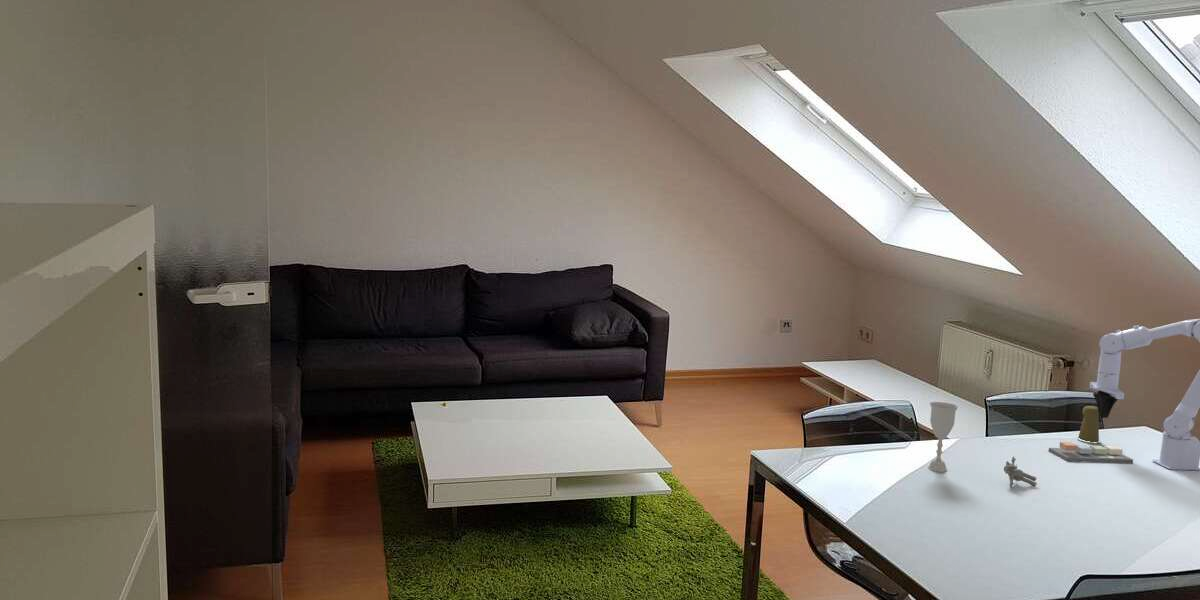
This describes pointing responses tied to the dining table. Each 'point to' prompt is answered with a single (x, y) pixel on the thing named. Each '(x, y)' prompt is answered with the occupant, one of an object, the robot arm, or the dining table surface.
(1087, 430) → the cork
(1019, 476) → the toy figurine
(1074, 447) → the key terracotta
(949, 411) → the chalice
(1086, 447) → the key blue
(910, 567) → the dining table surface
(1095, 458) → the keypad base
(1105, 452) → the key sage
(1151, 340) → the robot arm
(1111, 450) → the key cream
